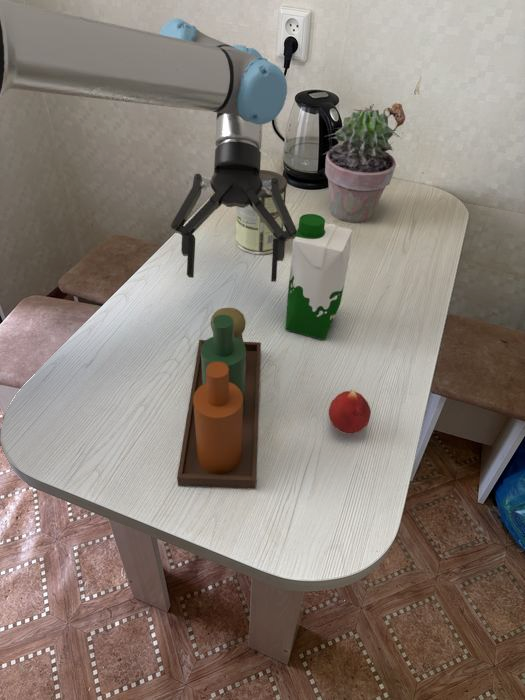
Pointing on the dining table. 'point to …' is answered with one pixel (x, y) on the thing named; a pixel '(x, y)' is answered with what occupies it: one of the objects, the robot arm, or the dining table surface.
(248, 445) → the tray
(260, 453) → the dining table surface
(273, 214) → the coffee can
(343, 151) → the potted plant
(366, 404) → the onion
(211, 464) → the amber bottle
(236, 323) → the cork
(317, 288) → the milk carton
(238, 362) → the green bottle
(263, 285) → the dining table surface
